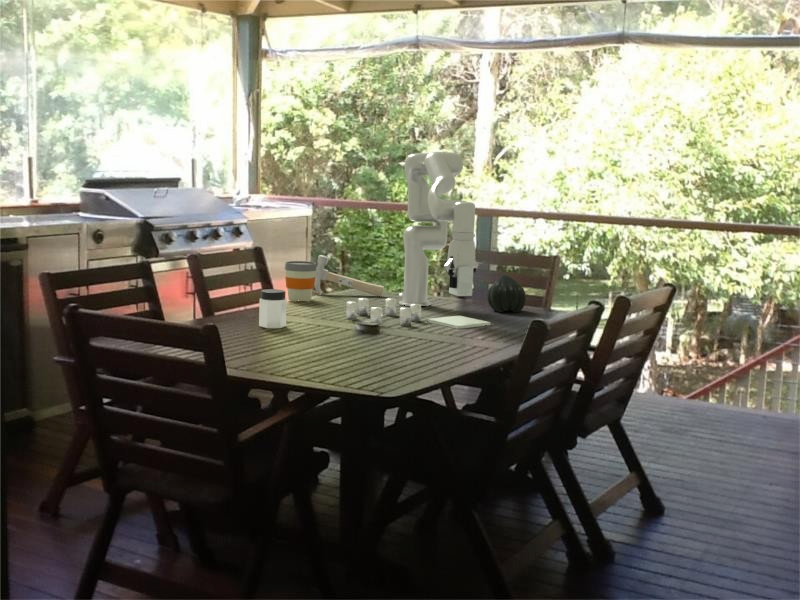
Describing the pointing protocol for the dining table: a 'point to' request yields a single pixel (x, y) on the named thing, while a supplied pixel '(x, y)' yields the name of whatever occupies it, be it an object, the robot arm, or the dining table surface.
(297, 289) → the reusable coffee cup
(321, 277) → the hammer
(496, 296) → the squash
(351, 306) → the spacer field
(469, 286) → the small box
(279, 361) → the dining table surface
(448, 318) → the pad
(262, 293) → the jar
